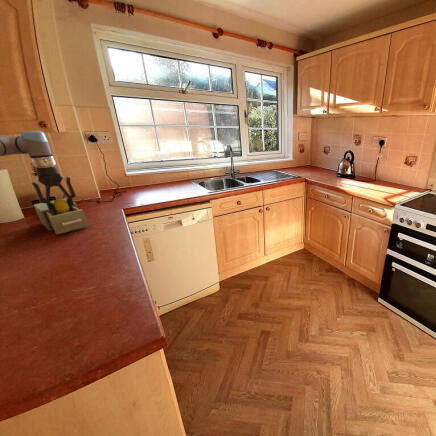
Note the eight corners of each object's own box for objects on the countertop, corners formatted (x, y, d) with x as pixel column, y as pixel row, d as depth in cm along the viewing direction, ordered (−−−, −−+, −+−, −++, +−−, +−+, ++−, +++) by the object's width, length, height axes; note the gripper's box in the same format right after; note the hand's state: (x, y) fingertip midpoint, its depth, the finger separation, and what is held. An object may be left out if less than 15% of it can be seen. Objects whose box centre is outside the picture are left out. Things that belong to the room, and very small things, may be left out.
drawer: (92, 228, 121) (86, 211, 118) (59, 237, 112) (52, 219, 109) (78, 219, 133) (72, 204, 130) (48, 226, 124) (41, 210, 121)
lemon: (63, 216, 118) (57, 200, 115) (53, 215, 118) (47, 200, 115) (74, 212, 123) (68, 197, 120) (65, 211, 124) (59, 196, 121)
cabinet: (82, 222, 132) (76, 203, 128) (49, 230, 121) (40, 210, 118) (73, 215, 141) (66, 198, 137) (41, 223, 131) (33, 204, 127)
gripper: (18, 170, 103) (40, 221, 111) (73, 164, 117) (89, 209, 125) (15, 168, 107) (37, 217, 116) (69, 163, 121) (84, 207, 129)
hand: (64, 213), depth 120 cm, fingers closed on lemon, 5 cm apart
